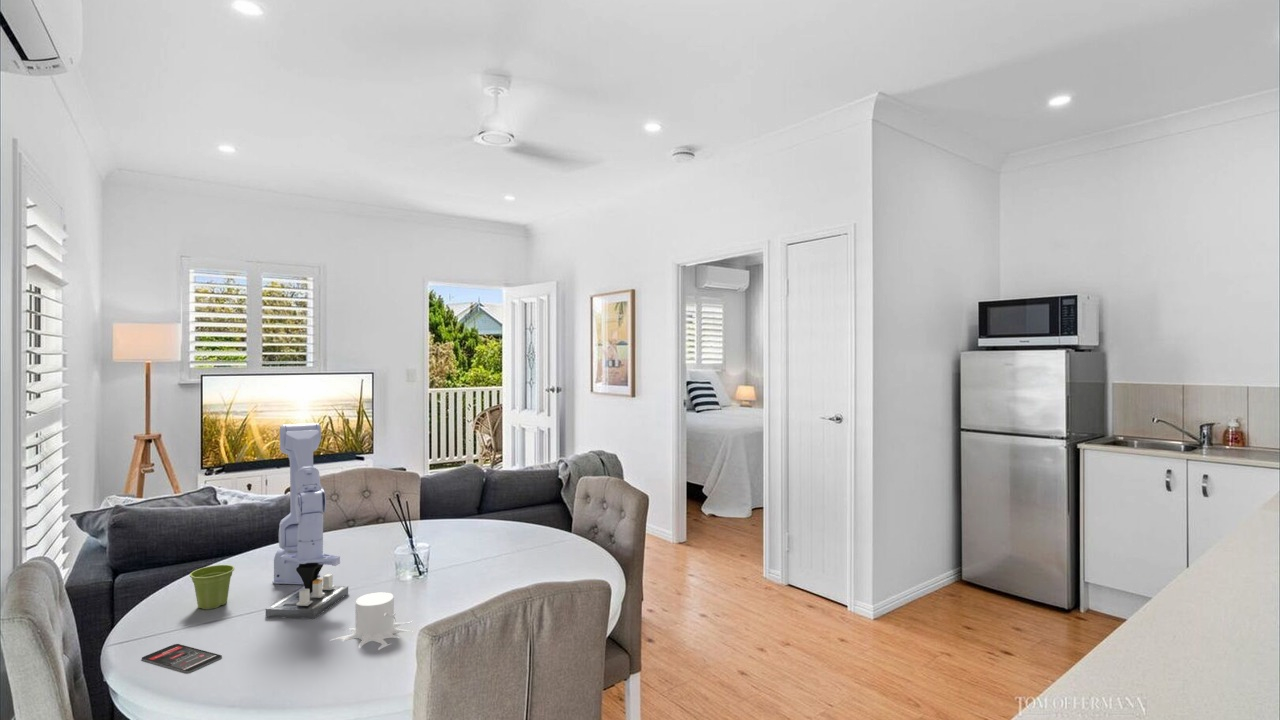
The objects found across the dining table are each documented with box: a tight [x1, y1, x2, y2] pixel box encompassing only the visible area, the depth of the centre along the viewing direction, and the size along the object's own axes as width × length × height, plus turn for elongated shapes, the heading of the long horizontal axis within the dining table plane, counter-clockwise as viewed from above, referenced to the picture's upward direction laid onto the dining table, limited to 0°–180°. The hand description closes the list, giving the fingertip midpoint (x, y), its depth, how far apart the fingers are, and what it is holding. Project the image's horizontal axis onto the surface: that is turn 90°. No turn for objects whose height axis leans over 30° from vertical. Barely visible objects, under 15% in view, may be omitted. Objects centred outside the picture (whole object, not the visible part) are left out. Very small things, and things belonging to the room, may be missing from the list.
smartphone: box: [141, 643, 223, 674], centre depth 133 cm, size 7×1×15 cm
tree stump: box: [328, 591, 414, 651], centre depth 146 cm, size 20×19×8 cm
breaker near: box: [296, 589, 313, 606], centre depth 156 cm, size 3×2×3 cm
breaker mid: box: [310, 578, 325, 598], centre depth 161 cm, size 3×2×4 cm
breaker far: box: [322, 573, 336, 590], centre depth 166 cm, size 3×2×3 cm
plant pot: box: [189, 564, 235, 610], centre depth 161 cm, size 9×9×9 cm
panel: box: [265, 585, 349, 619], centre depth 161 cm, size 12×16×2 cm
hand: (310, 592), depth 161 cm, fingers closed
